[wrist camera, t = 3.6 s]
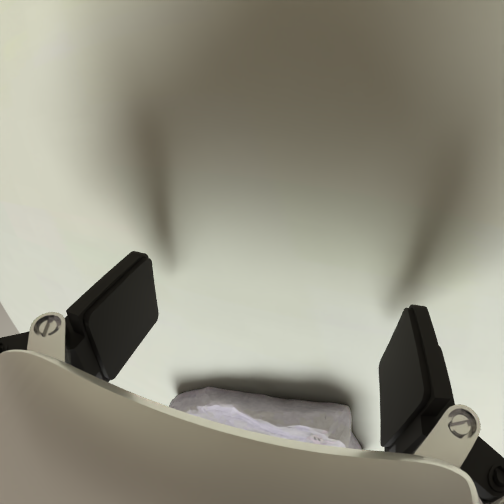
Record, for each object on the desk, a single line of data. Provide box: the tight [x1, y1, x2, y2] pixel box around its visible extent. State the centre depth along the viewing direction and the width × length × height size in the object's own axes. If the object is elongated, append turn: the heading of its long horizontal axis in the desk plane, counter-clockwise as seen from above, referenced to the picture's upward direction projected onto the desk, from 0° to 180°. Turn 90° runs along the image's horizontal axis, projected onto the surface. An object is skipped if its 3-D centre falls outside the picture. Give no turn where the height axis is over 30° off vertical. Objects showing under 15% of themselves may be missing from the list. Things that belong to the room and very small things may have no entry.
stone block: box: [169, 387, 362, 450], centre depth 17 cm, size 12×5×10 cm
